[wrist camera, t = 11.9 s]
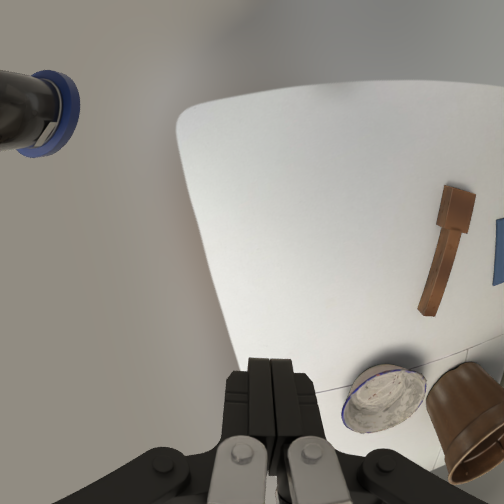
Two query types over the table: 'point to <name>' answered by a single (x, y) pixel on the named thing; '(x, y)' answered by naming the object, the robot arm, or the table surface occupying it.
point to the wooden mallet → (446, 245)
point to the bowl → (383, 398)
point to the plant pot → (468, 421)
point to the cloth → (499, 253)
